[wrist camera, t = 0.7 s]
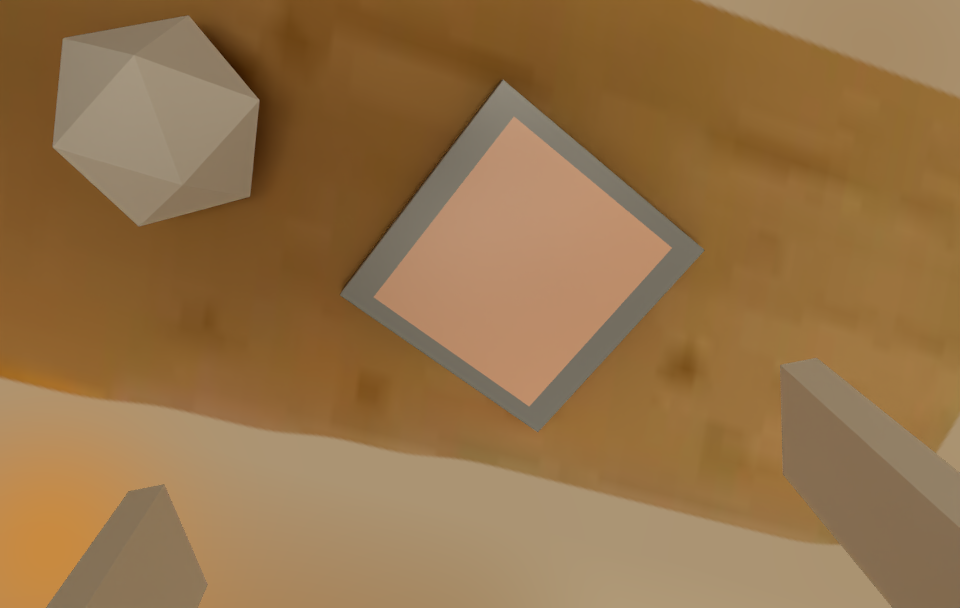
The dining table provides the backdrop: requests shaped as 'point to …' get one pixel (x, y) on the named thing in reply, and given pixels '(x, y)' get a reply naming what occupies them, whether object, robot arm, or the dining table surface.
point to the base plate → (520, 261)
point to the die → (156, 119)
